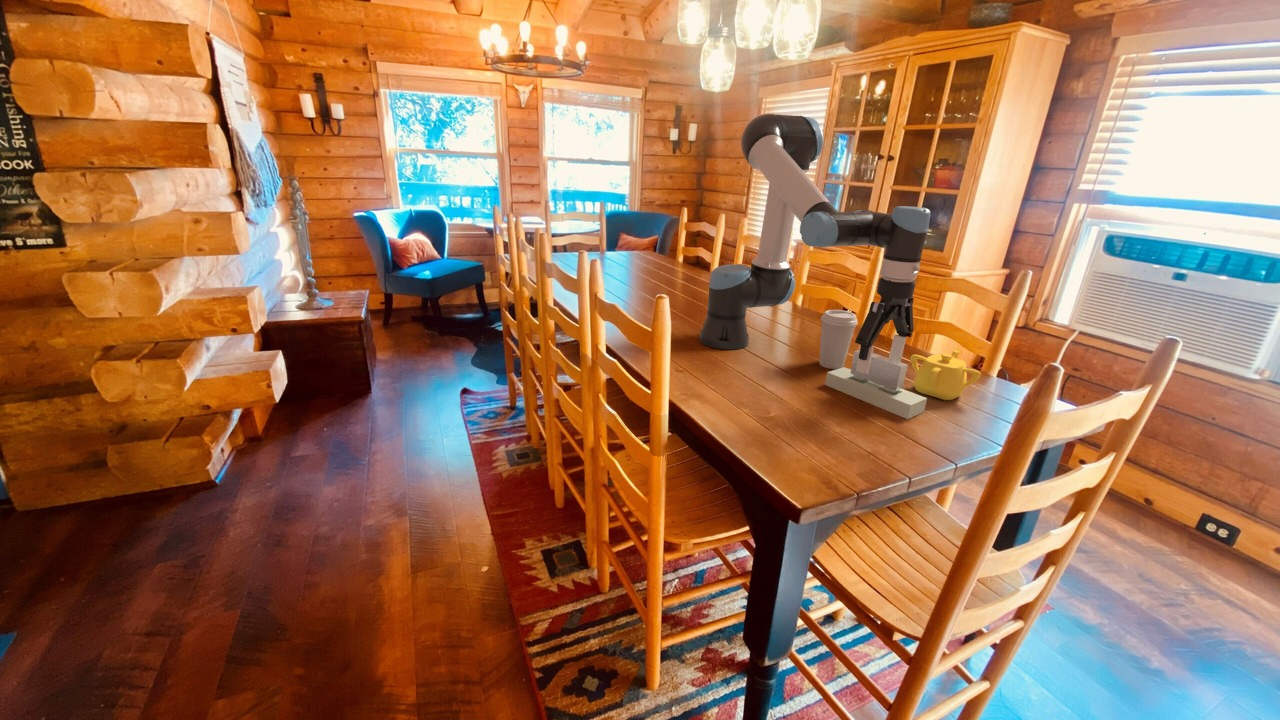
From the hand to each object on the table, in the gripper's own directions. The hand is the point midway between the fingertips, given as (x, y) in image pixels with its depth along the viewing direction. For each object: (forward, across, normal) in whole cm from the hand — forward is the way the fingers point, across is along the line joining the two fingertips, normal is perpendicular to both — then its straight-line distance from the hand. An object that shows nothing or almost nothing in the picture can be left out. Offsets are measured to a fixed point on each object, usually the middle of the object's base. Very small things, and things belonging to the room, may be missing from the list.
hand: (878, 366), depth 125 cm
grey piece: (+8, 0, 0) cm, 8 cm away
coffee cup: (+8, +10, +19) cm, 23 cm away
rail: (+8, 0, 0) cm, 8 cm away
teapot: (+8, +18, -7) cm, 21 cm away
